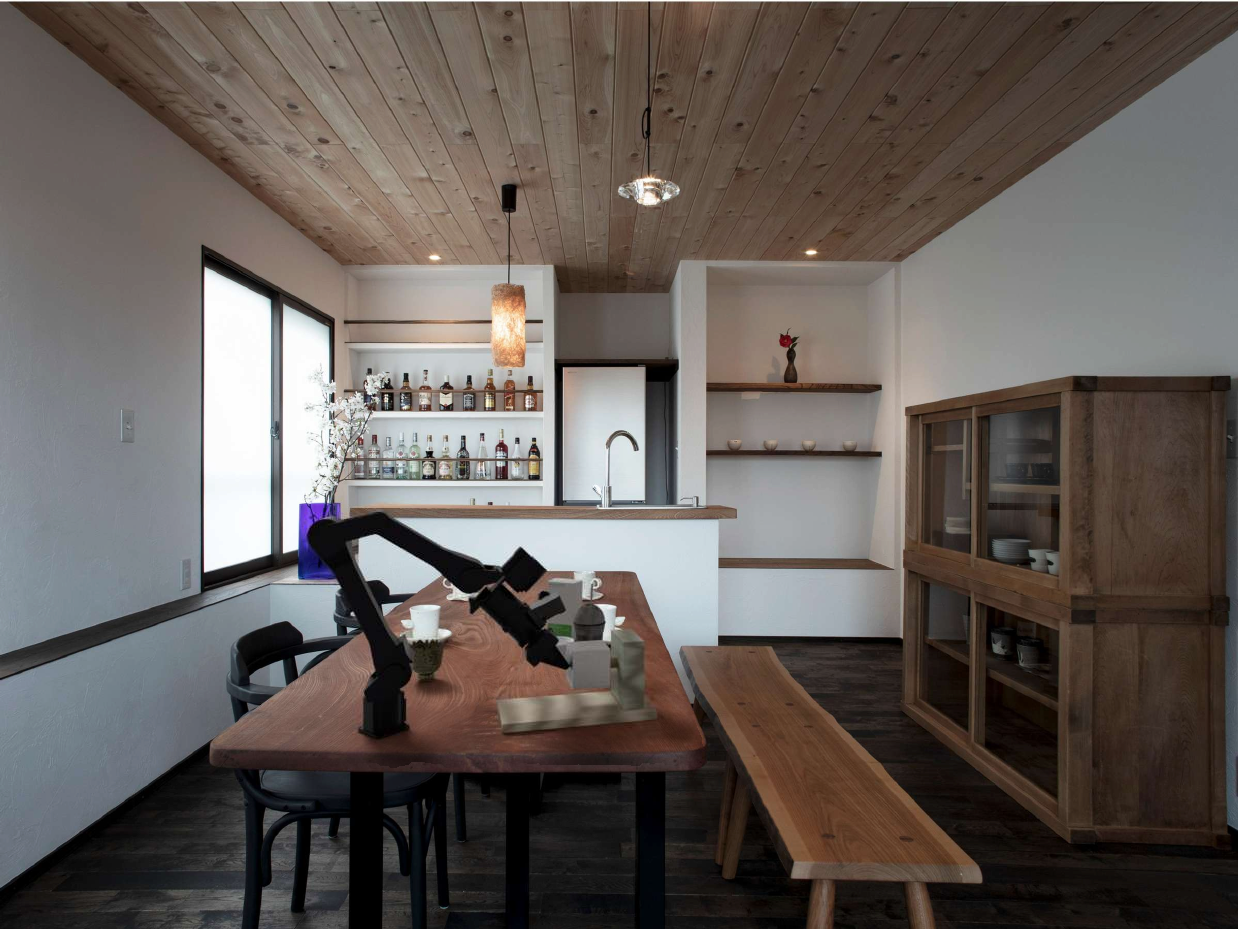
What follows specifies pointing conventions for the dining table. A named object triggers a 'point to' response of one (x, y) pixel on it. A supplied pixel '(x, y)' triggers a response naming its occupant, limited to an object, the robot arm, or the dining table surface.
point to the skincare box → (572, 601)
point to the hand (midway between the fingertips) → (567, 667)
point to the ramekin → (563, 644)
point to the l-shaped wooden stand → (588, 696)
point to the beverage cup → (589, 622)
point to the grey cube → (588, 664)
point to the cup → (427, 658)
